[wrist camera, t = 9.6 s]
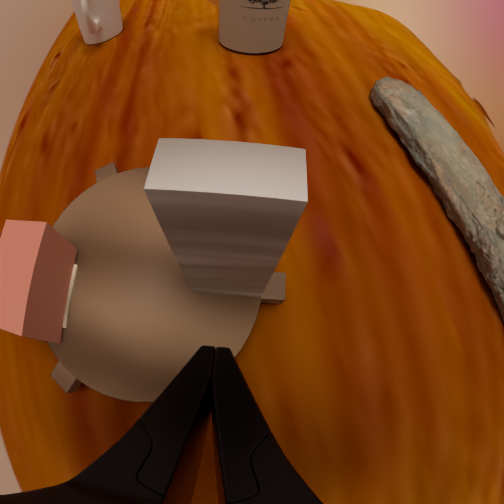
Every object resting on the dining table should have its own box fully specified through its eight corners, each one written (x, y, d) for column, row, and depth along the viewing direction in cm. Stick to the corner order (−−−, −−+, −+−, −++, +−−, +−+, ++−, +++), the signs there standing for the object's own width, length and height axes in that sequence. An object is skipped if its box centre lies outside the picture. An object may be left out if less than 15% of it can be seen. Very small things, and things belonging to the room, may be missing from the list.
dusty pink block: (77, 249, 16) (46, 222, 13) (60, 343, 14) (21, 336, 10) (38, 245, 16) (6, 219, 12) (21, 331, 14) (-19, 321, 10)
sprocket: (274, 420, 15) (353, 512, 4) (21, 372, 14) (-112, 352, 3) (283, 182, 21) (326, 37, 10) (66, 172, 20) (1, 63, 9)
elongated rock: (398, 96, 31) (343, 107, 29) (411, 66, 26) (353, 71, 24) (549, 326, 19) (513, 382, 18) (579, 315, 14) (550, 377, 13)
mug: (87, 32, 31) (73, -25, 20) (126, 21, 32) (117, -39, 21) (74, 61, 28) (52, -7, 17) (119, 47, 29) (104, -26, 18)
